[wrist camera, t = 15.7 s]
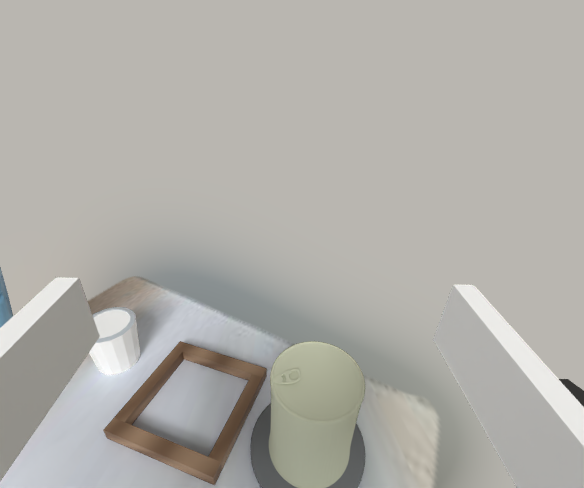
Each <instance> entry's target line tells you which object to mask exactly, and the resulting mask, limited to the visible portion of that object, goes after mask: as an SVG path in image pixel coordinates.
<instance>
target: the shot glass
mask: <svg viewBox="0 0 584 488" xmlns="http://www.w3.org/2000/svg"><path fill="white" fill-rule="evenodd" d="M92 316H93V318H94V321H95V324H96V327H97V330H98V333H99V335H100V337H99V339H98V340H97V341H96V343H95V344H94V346H93V347H92V349H91V350H90V352H89V354H90V356H91V358H92V359H93V361H94V363H95V364H96V366H97V368H98V370H99V371H100V372H101V373H103V374H105V375H116V374H120V373H123V372H125V371H127V370H128V369H130V368H131V367H133V366H134V365H135V364H136V363H137V361H138V359H139V358H140V346H139V338H138V330H137V323H136V315H135V314H134V312H133V311H132V310H130V309H128V308H125V307H113V308H108V309H104V310H101V311H99V312H97V313H94V314H93V315H92Z"/></svg>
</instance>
